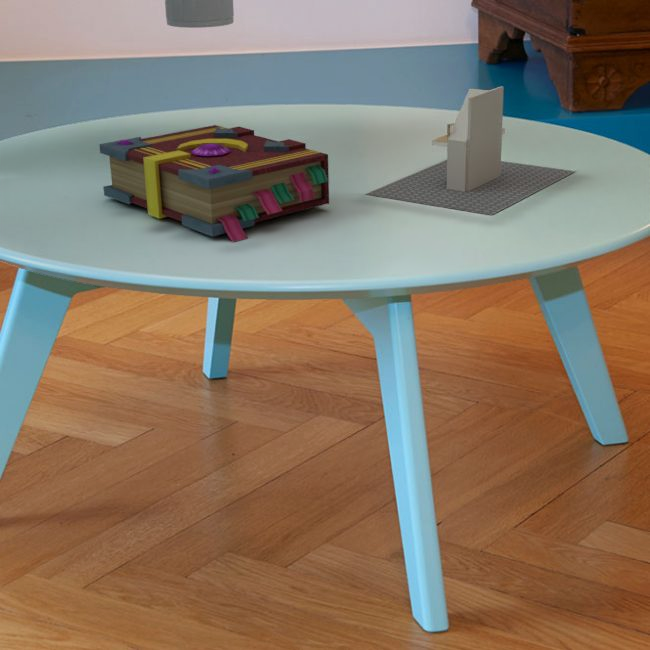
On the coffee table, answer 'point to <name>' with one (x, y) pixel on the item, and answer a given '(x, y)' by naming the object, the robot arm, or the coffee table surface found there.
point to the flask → (199, 13)
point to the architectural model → (473, 164)
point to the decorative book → (217, 177)
